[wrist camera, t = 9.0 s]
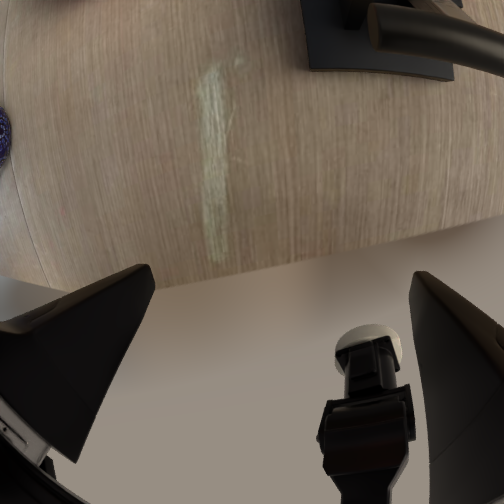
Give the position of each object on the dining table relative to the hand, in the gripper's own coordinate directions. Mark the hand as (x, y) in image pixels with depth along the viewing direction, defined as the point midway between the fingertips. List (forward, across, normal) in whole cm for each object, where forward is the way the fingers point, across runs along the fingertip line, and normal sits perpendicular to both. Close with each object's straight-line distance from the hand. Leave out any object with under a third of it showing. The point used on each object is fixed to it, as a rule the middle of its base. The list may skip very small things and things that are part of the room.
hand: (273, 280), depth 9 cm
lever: (+4, -6, -9) cm, 12 cm away
